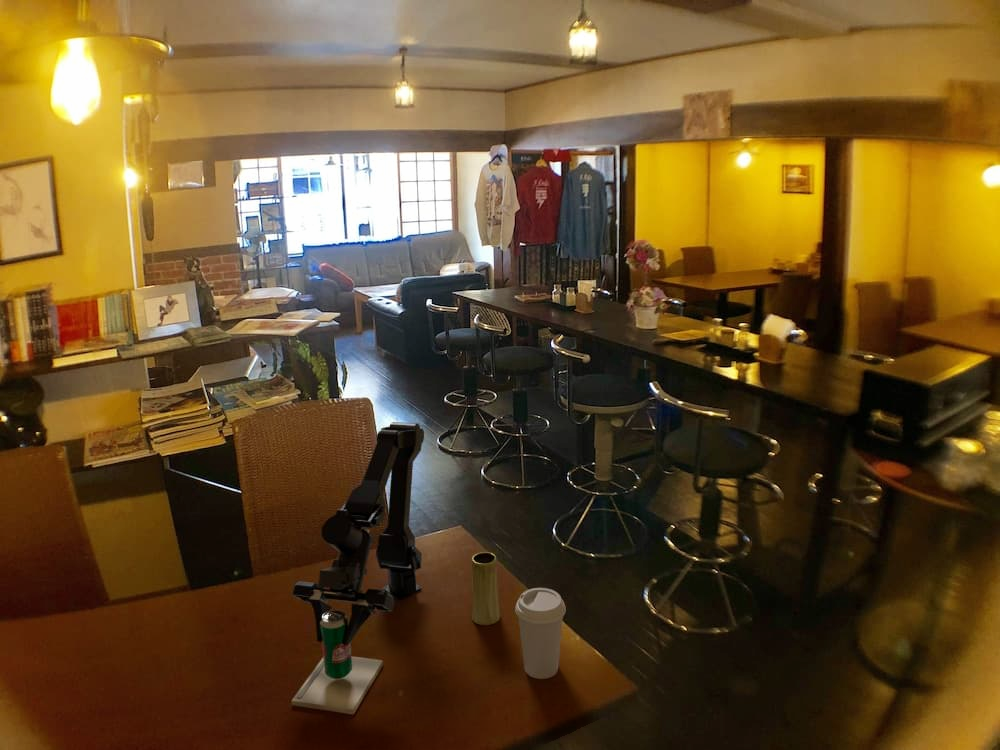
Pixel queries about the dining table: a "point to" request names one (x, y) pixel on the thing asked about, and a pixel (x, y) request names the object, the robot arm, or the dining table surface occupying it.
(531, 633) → the coffee cup
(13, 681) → the dining table surface
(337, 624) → the soda can
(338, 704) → the white rectangular tray
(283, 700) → the dining table surface
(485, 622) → the vase
